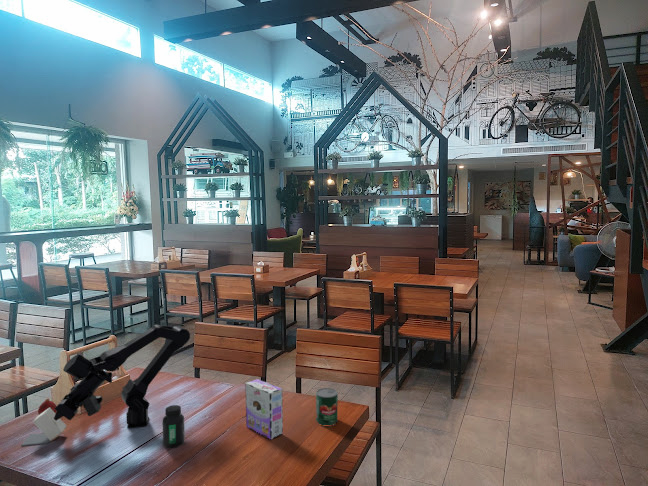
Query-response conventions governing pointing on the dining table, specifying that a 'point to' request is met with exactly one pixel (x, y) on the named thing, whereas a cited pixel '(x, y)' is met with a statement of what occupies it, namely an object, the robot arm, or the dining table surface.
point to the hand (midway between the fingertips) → (55, 419)
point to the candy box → (264, 408)
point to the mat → (36, 439)
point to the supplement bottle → (173, 427)
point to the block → (49, 424)
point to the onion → (47, 406)
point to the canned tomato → (326, 406)
